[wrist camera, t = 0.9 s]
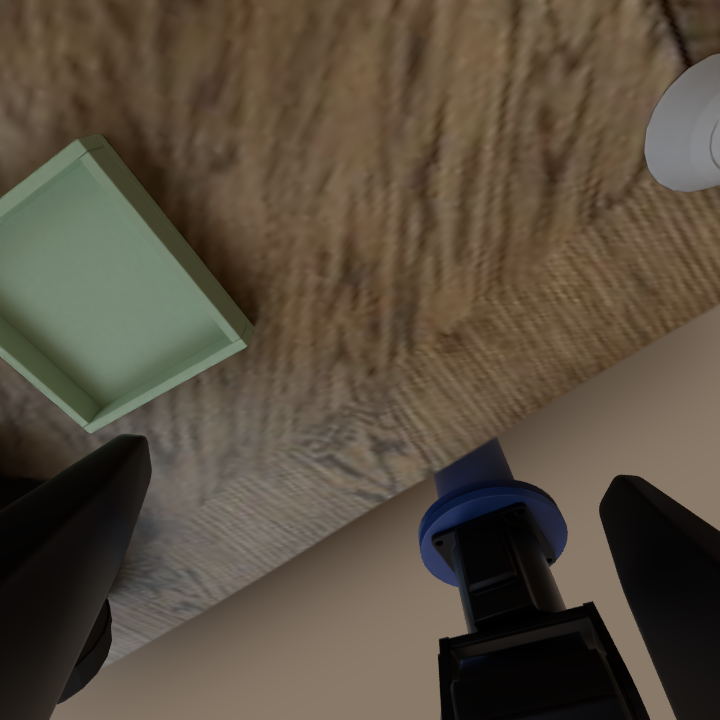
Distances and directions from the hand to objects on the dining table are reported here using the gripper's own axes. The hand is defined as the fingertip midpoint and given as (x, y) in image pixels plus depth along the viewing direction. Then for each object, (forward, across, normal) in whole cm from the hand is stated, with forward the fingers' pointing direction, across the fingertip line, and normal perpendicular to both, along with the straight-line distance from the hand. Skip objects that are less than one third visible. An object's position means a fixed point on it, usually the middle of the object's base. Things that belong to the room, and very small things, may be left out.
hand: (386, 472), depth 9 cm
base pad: (+14, +12, +4) cm, 19 cm away
